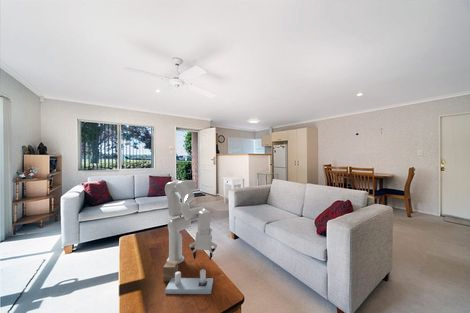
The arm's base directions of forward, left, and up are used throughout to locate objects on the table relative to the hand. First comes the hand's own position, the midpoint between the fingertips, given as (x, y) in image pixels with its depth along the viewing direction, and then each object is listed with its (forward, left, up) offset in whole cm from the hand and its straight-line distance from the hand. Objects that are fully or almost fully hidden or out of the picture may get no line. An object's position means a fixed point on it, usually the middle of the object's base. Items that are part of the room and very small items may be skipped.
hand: (202, 258), depth 113 cm
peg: (+3, +1, -16) cm, 16 cm away
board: (+3, -7, -16) cm, 17 cm away
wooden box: (-6, -22, -16) cm, 27 cm away
